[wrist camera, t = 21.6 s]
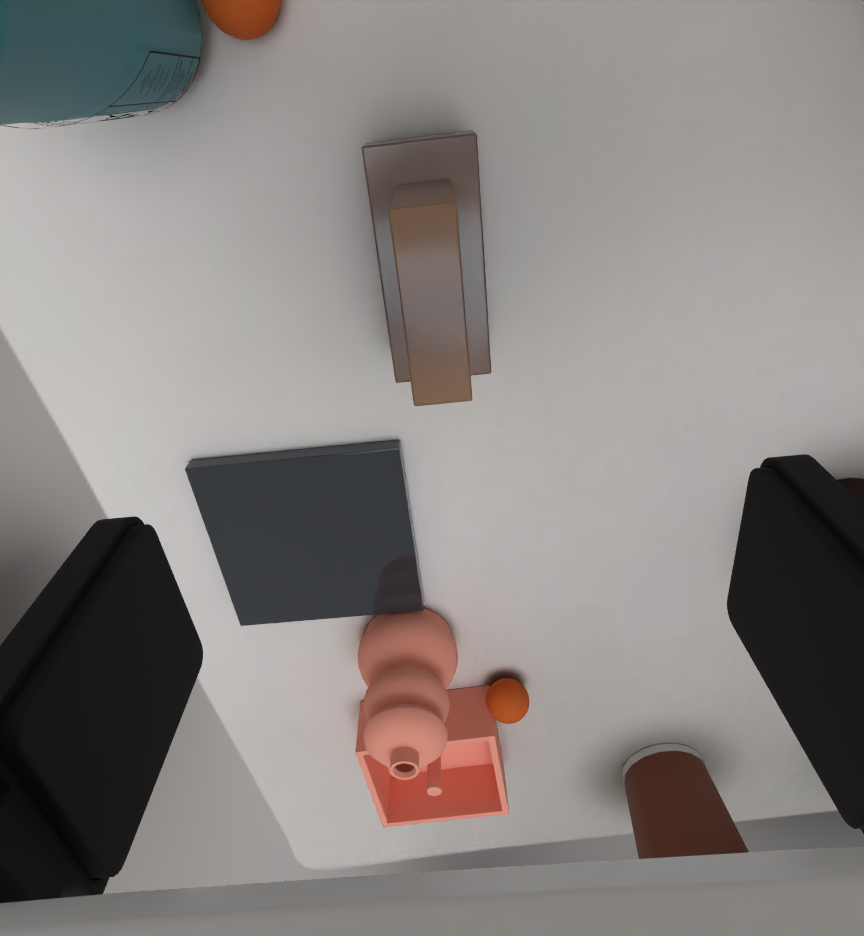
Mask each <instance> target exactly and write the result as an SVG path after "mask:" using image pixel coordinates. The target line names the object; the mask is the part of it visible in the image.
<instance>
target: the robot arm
mask: <svg viewBox="0 0 864 936" xmlns="http://www.w3.org/2000/svg"><path fill="white" fill-rule="evenodd" d="M727 609H728V614H729V618H730V621H731V623H732V625H733V627H734V629H735V630H736V632H737V634H738V636H739V637H740V639H741V641H742V643H743V644H744V646H745V648H746V650H747V651H748V653H749V655H750V657H751V658H752V660H753V662H754V664H755V665H756V667H757V669H758V671H759V672H760V674H761V676H762V678H763V679H764V681H765V683H766V685H767V686H768V688H769V690H770V692H771V693H772V695H773V697H774V699H775V700H776V702H777V704H778V706H779V707H780V709H781V711H782V713H783V714H784V716H785V718H786V720H787V721H788V723H789V725H790V727H791V728H792V730H793V732H794V734H795V736H796V737H797V739H798V741H799V743H800V744H801V746H802V748H803V750H804V751H805V753H806V755H807V757H808V758H809V760H810V762H811V764H812V765H813V767H814V769H815V771H816V772H817V774H818V776H819V778H820V779H821V781H822V783H823V785H824V786H825V788H826V790H827V792H828V793H829V795H830V797H831V799H832V800H833V802H834V804H835V806H836V807H837V809H838V811H839V813H840V814H841V816H842V817H843V819H844V820H845V822H846V823H847V824H848V825H850V826H851V827H852V828H854V829H856V828H861V830H862V832H863V834H864V506H863V505H862V504H861V503H860V502H859V501H858V500H857V499H856V498H855V497H854V496H853V495H852V494H851V493H850V492H849V491H848V490H846V489H845V488H844V487H843V486H842V485H841V484H840V483H839V482H838V481H837V480H836V479H835V478H834V477H833V476H832V475H831V474H830V473H829V472H828V471H827V470H825V469H824V468H823V467H822V466H821V465H820V464H819V463H818V462H817V461H816V460H815V459H814V458H813V457H811V456H810V455H793V456H782V457H772V458H767V459H765V460H764V461H763V463H762V464H761V467H760V468H755V469H753V470H752V471H751V473H750V476H749V480H748V486H747V491H746V497H745V503H744V508H743V514H742V520H741V525H740V531H739V537H738V542H737V548H736V553H735V559H734V565H733V570H732V576H731V582H730V587H729V593H728V599H727ZM202 660H203V649H202V644H201V641H200V639H199V636H198V634H197V631H196V629H195V626H194V624H193V622H192V619H191V617H190V614H189V612H188V609H187V607H186V604H185V602H184V599H183V597H182V595H181V592H180V590H179V587H178V585H177V582H176V580H175V577H174V575H173V573H172V570H171V568H170V565H169V563H168V560H167V558H166V555H165V553H164V550H163V548H162V546H161V543H160V541H159V538H158V536H157V533H156V531H155V529H154V528H153V527H152V526H151V525H148V524H146V525H144V523H143V521H142V520H141V519H139V518H138V517H124V518H113V519H103V520H99V521H97V522H96V523H94V524H93V525H92V527H91V528H90V529H89V531H88V532H87V533H86V535H85V536H84V537H83V539H82V540H81V541H80V542H79V544H78V545H77V546H76V548H75V549H74V550H73V552H72V553H71V554H70V556H69V557H68V558H67V559H66V561H65V562H64V563H63V565H62V566H61V567H60V569H59V570H58V571H57V572H56V574H55V575H54V576H53V578H52V579H51V580H50V582H49V583H48V584H47V586H46V587H45V588H44V589H43V591H42V592H41V593H40V595H39V596H38V597H37V599H36V600H35V601H34V603H33V604H32V605H31V606H30V608H29V609H28V610H27V612H26V613H25V615H24V616H23V617H22V618H21V619H20V621H19V622H18V623H17V625H16V626H15V627H14V629H13V630H12V631H11V632H10V634H9V635H8V636H7V638H6V639H5V640H4V642H3V643H2V644H1V646H0V936H864V847H852V848H851V847H850V848H829V849H828V848H826V849H801V850H785V851H767V852H750V853H732V854H715V855H698V856H681V857H664V858H647V859H630V860H612V861H596V862H580V863H579V862H578V863H563V864H547V865H531V866H516V867H500V868H483V869H467V870H451V871H436V872H420V873H406V874H389V875H374V876H358V877H343V878H327V879H312V880H299V881H284V882H270V883H255V884H241V885H226V886H211V887H197V888H183V889H169V890H154V891H139V892H125V893H112V894H103V892H104V890H105V887H106V885H107V882H108V880H109V877H114V876H115V875H117V874H118V873H119V871H120V870H121V869H122V866H123V865H124V862H125V860H126V858H127V855H128V853H129V850H130V847H131V845H132V842H133V840H134V837H135V834H136V832H137V829H138V827H139V824H140V822H141V819H142V816H143V814H144V811H145V809H146V806H147V804H148V801H149V799H150V796H151V794H152V791H153V788H154V786H155V783H156V781H157V778H158V775H159V773H160V771H161V768H162V765H163V763H164V760H165V758H166V755H167V753H168V750H169V747H170V745H171V742H172V740H173V737H174V735H175V732H176V729H177V727H178V725H179V722H180V719H181V717H182V714H183V712H184V709H185V707H186V704H187V702H188V699H189V696H190V694H191V691H192V689H193V686H194V683H195V681H196V679H197V676H198V673H199V671H200V668H201V665H202Z"/></svg>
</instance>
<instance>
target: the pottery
mask: <svg viewBox="0 0 864 936" xmlns="http://www.w3.org/2000/svg"><path fill="white" fill-rule="evenodd" d="M457 660H458V653H457V647H456V643H455V640H454V638H453V635H452V633H451V630H450V628H449V625H448V624H447V622H446V621H445V620H444V619H443V618H442V617H441V616H439V615H438V614H437V613H435V612H433V611H431V610H428V609H425V608H424V610H423V611H412V612H400V613H388V614H378V615H377V616H376V617H374V619H373V620H372V621H371V622H370V623H369V625H368V627H367V629H366V632H365V634H364V636H363V638H362V640H361V643H360V647H359V652H358V663H359V669H360V672H361V675H362V677H363V680H364V681H365V683H366V684H367V686H368V689H367V690H366V694H365V698H364V701H361V705H360V714H359V723H358V733H357V742H356V755H357V758H358V760H359V763H360V766H361V769H362V771H363V774H364V777H365V779H366V782H367V785H368V787H369V790H370V793H371V795H372V798H373V801H374V804H375V806H376V809H377V812H378V814H379V817H380V820H381V822H382V825H383V827H390V826H400V825H409V824H418V823H428V822H437V821H446V820H456V819H465V818H474V817H484V816H493V815H503V814H509V808H508V799H507V791H506V782H505V774H504V765H503V758H502V753H501V747H500V742H499V737H498V731H497V726H496V720H495V718H494V717H493V716H492V713H491V712H490V711H489V709H488V708H487V704H486V695H487V692H488V689H489V685H486V686H478V687H470V688H462V689H454V690H446V688H447V686H448V685H449V683H450V682H451V680H452V678H453V676H454V674H455V671H456V667H457Z"/></svg>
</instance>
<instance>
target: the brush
mask: <svg viewBox="0 0 864 936" xmlns="http://www.w3.org/2000/svg"><path fill="white" fill-rule="evenodd" d="M362 153H363V160H364V167H365V173H366V180H367V187H368V194H369V201H370V208H371V215H372V222H373V229H374V236H375V243H376V250H377V256H378V263H379V270H380V277H381V284H382V291H383V298H384V305H385V312H386V319H387V326H388V332H389V339H390V346H391V353H392V360H393V367H394V374H395V381H396V383H399V382H409V381H411V387H412V394H413V402H414V405H415V406H422V405H432V404H442V403H452V402H462V401H471V400H472V389H471V377H470V375H479V374H489V373H491V360H490V344H489V328H488V311H487V295H486V278H485V262H484V246H483V229H482V213H481V197H480V180H479V164H478V147H477V135H476V133H475V132H474V131H464V132H455V133H447V134H438V135H430V136H421V137H413V138H405V139H396V140H388V141H379V142H371V143H366V144H365V145H364V146H363V147H362Z"/></svg>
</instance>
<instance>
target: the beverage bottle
mask: <svg viewBox="0 0 864 936" xmlns="http://www.w3.org/2000/svg"><path fill="white" fill-rule="evenodd" d="M200 48H201V22H200V15H199V10H198V6H197V3H196V0H0V125H1V126H4V125H3V124H14V123H24V122H26V123H35V124H38V123H37V122H42V123H43V122H44V123H45V122H47V123H48V122H49V121H55V122H58V121H61V120H69V119H77V118H86V117H90V118H91V117H94V116H102V115H109V116H111V117H118V118H116V119H121V118H119V116H120V115H119V116H112V115H111V114H114V115H116V114H119V113H127V112H136V111H144V110H150V109H154V108H158V107H160V106H163V105H165V104H167V103H168V102H174V103H175V102H176V101H177V100H176V101H172V100H173V99H174V98H175V97H177V96H178V95H179V94H180V93H181V92H182V91H184V89H185V88H186V86H187V84H188V83H189V81H190V79H191V78H192V76H193V73H194V71H195V69H196V66H197V63H198V59H199V63H200V57H199V54H200ZM198 67H199V65H198ZM197 70H198V68H197ZM196 73H197V71H196ZM196 73H195V75H196ZM194 77H195V76H194ZM193 79H194V78H193ZM192 81H193V80H192ZM191 83H192V82H191ZM189 86H190V85H189ZM188 88H189V87H188ZM188 88H187V89H188ZM186 91H187V90H186ZM186 91H185V92H186ZM185 92H184V93H185ZM184 93H183V94H184ZM180 98H181V97H180ZM180 98H179V99H180ZM174 103H173V104H174ZM170 106H171V105H170ZM165 109H166V108H165ZM153 111H155V112H156V110H153ZM153 111H148V112H149V113H150V112H153ZM158 112H159V111H158ZM153 113H154V112H153ZM153 113H152V114H153ZM132 114H133V113H132ZM147 114H148V113H147ZM150 114H151V113H150ZM122 115H123V114H122ZM125 115H129V114H125ZM125 115H123V116H125ZM138 115H139V114H138ZM144 115H145V114H144ZM130 116H134V117H135V115H130ZM130 116H129V117H130ZM139 116H140V115H139ZM111 117H110V118H111ZM120 117H122V116H120ZM124 118H128V117H124ZM88 119H89V118H88ZM108 119H109V118H108ZM85 120H86V119H85ZM109 120H113V119H109ZM82 121H83V120H82ZM101 121H106V119H105V120H101ZM66 122H67V121H66ZM79 122H80V121H79ZM96 122H97V121H96ZM47 123H46V124H47ZM49 123H50V122H49ZM49 123H48V124H49ZM60 123H62V122H60ZM70 123H71V122H70ZM70 123H69V124H70ZM74 123H75V122H73V124H74ZM76 123H77V122H76ZM88 123H89V122H88ZM54 124H55V123H54ZM54 124H52V125H54ZM69 124H65V125H69ZM80 124H82V123H80ZM41 125H42V124H41ZM56 125H57V124H56ZM65 125H64V126H65ZM71 125H72V124H71ZM76 125H77V124H76ZM46 126H49V125H46ZM8 127H11V126H8ZM59 127H60V126H59ZM15 128H17V127H15ZM51 128H52V127H51ZM32 129H40V128H32Z"/></svg>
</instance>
